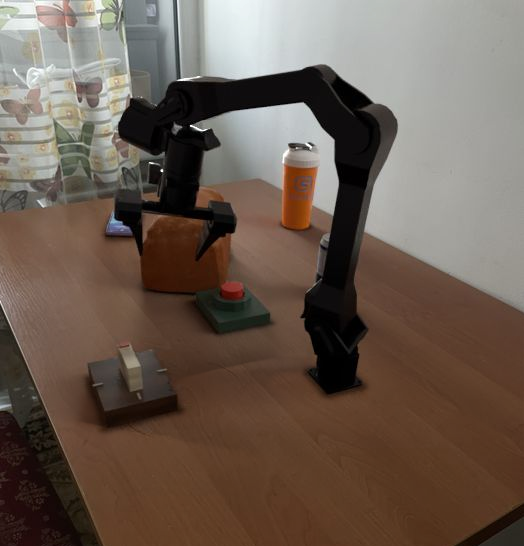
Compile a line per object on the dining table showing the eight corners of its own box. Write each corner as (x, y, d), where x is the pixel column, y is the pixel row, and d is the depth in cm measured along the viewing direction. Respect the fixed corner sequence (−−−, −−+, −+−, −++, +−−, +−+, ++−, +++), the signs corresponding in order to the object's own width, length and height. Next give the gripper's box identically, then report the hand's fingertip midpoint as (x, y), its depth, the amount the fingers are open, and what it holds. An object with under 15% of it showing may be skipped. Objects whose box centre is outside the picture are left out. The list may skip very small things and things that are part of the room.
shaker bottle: (272, 220, 143) (277, 140, 131) (302, 216, 146) (309, 138, 135) (288, 232, 136) (294, 149, 125) (319, 228, 139) (328, 147, 128)
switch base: (180, 409, 78) (179, 392, 76) (104, 429, 74) (101, 411, 72) (156, 364, 87) (155, 348, 85) (87, 379, 83) (84, 362, 81)
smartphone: (141, 211, 141) (137, 233, 129) (142, 214, 142) (137, 236, 129) (112, 210, 140) (105, 232, 128) (112, 213, 141) (105, 235, 128)
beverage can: (341, 302, 107) (349, 245, 100) (312, 298, 108) (318, 241, 101) (343, 289, 112) (351, 234, 105) (315, 286, 113) (322, 230, 106)
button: (246, 298, 99) (246, 289, 98) (226, 302, 98) (226, 293, 97) (237, 288, 102) (238, 280, 101) (217, 292, 100) (217, 283, 100)
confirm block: (269, 323, 99) (271, 303, 97) (218, 333, 95) (218, 313, 93) (243, 293, 108) (243, 275, 106) (195, 302, 104) (195, 283, 102)
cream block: (142, 389, 77) (140, 364, 74) (130, 392, 76) (127, 367, 74) (131, 364, 82) (128, 340, 79) (119, 366, 81) (116, 342, 78)
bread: (138, 292, 107) (132, 218, 98) (158, 242, 127) (154, 178, 119) (225, 296, 107) (226, 223, 99) (232, 246, 127) (233, 182, 119)
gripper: (234, 155, 90) (216, 238, 99) (117, 136, 84) (110, 226, 94) (246, 186, 82) (226, 272, 91) (118, 167, 76) (110, 262, 86)
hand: (168, 257), depth 91 cm, fingers open, 9 cm apart
